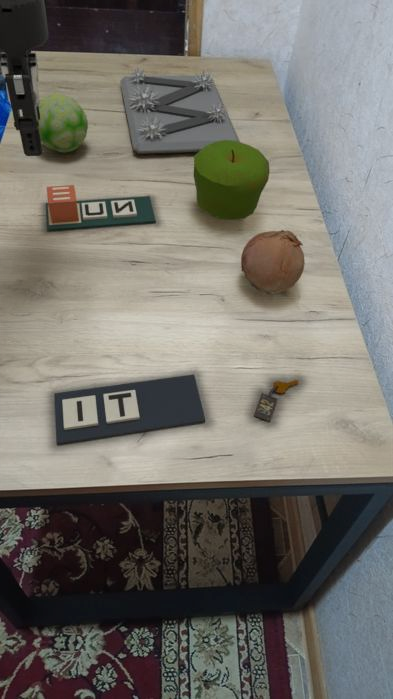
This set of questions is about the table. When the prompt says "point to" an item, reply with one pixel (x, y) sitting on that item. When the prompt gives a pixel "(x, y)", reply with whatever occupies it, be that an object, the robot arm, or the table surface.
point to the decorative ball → (61, 123)
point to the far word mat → (107, 213)
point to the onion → (273, 261)
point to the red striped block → (62, 203)
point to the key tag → (271, 400)
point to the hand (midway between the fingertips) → (33, 136)
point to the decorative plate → (174, 113)
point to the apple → (229, 179)
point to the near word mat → (127, 409)
